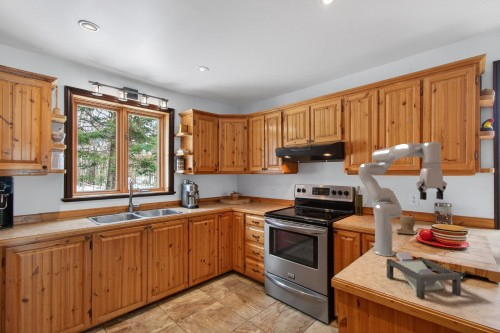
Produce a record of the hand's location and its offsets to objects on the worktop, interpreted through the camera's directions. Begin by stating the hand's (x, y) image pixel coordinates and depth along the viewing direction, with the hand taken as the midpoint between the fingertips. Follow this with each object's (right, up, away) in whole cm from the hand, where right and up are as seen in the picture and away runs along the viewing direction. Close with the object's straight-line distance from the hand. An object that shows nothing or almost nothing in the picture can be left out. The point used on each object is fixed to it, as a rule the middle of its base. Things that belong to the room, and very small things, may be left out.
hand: (431, 199), depth 121 cm
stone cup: (+35, -39, +73) cm, 89 cm away
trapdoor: (-15, -34, -8) cm, 38 cm away
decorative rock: (+10, -39, +1) cm, 40 cm away
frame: (-14, -38, -12) cm, 43 cm away
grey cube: (-14, -35, -14) cm, 40 cm away
